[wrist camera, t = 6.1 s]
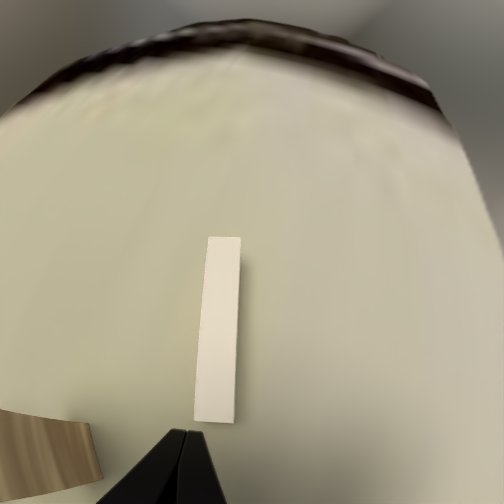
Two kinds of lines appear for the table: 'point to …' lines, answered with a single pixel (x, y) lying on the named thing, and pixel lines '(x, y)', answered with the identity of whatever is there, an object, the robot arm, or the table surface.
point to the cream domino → (218, 332)
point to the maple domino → (44, 455)
